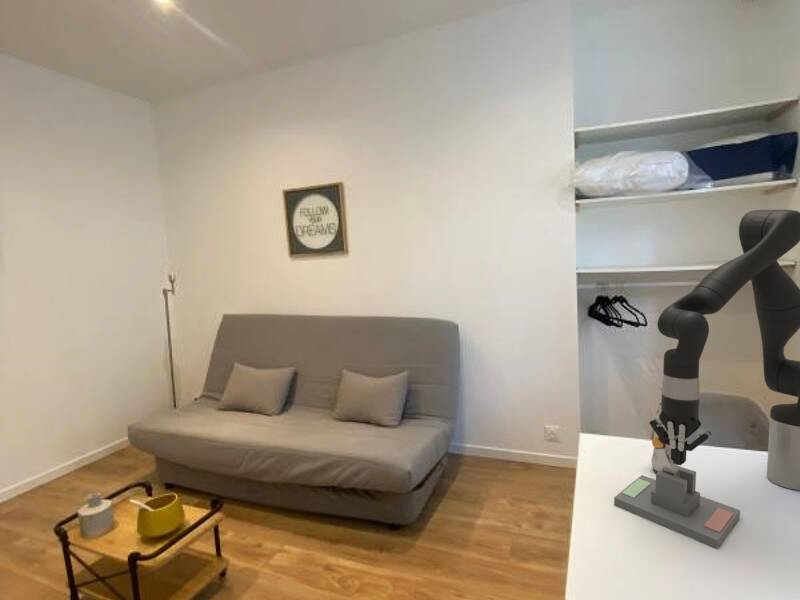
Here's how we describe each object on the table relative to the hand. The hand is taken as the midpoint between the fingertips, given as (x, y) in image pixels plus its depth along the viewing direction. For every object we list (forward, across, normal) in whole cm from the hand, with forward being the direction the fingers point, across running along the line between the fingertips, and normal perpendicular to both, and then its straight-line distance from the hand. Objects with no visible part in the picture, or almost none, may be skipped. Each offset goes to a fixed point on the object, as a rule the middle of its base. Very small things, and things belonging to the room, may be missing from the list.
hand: (678, 463), depth 105 cm
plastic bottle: (+13, +10, -18) cm, 24 cm away
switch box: (+13, +1, 0) cm, 13 cm away
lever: (+7, 0, 0) cm, 7 cm away
